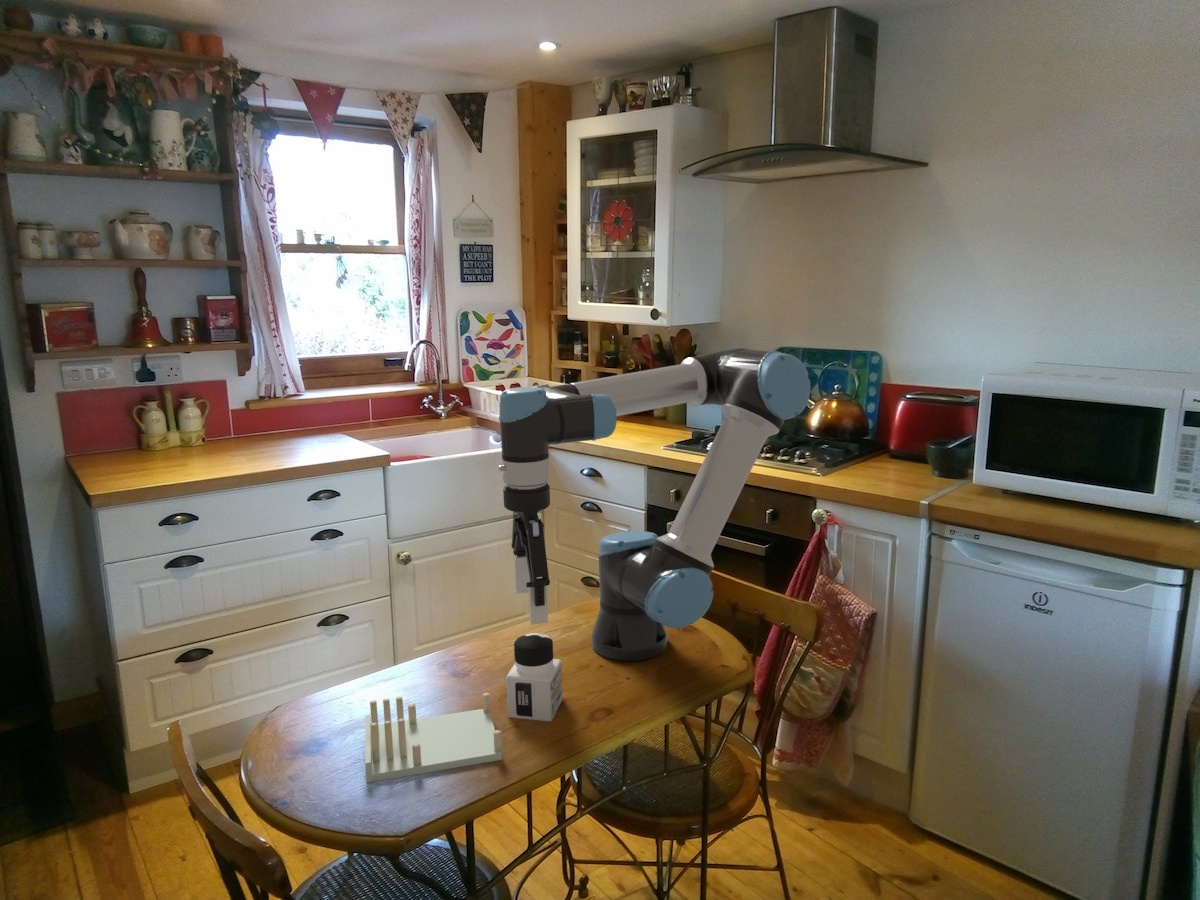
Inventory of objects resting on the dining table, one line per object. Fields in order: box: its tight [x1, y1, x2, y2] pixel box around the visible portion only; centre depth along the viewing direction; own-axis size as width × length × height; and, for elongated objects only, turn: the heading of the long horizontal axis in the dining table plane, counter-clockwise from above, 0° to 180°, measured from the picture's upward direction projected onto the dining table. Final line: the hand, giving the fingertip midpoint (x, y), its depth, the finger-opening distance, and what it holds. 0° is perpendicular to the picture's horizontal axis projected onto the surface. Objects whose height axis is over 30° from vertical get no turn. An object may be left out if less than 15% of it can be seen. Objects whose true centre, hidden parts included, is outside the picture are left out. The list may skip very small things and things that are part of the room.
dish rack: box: [364, 692, 503, 784], centre depth 129 cm, size 20×14×7 cm
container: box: [505, 632, 563, 722], centre depth 139 cm, size 8×8×13 cm
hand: (531, 607), depth 137 cm, fingers open, 13 cm apart
